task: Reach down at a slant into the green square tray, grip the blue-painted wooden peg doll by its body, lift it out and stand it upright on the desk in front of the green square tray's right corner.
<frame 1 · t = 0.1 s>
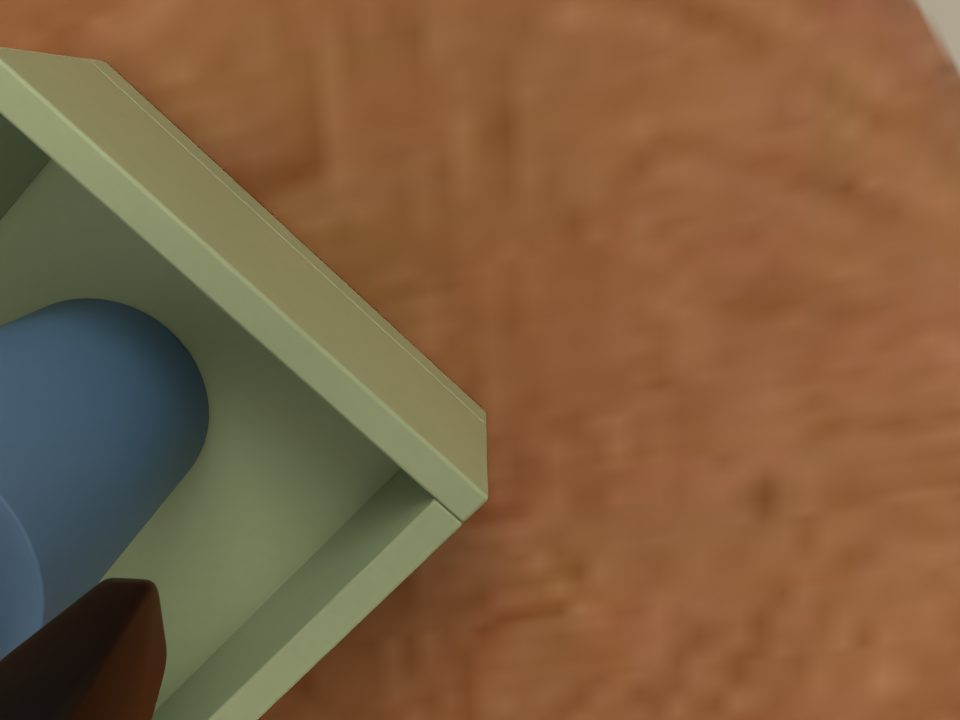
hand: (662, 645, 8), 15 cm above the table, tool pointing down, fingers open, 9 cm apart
green square tray: (134, 431, 24), on the table
peg doll: (100, 404, 23), point 1 cm above the table, touching green square tray
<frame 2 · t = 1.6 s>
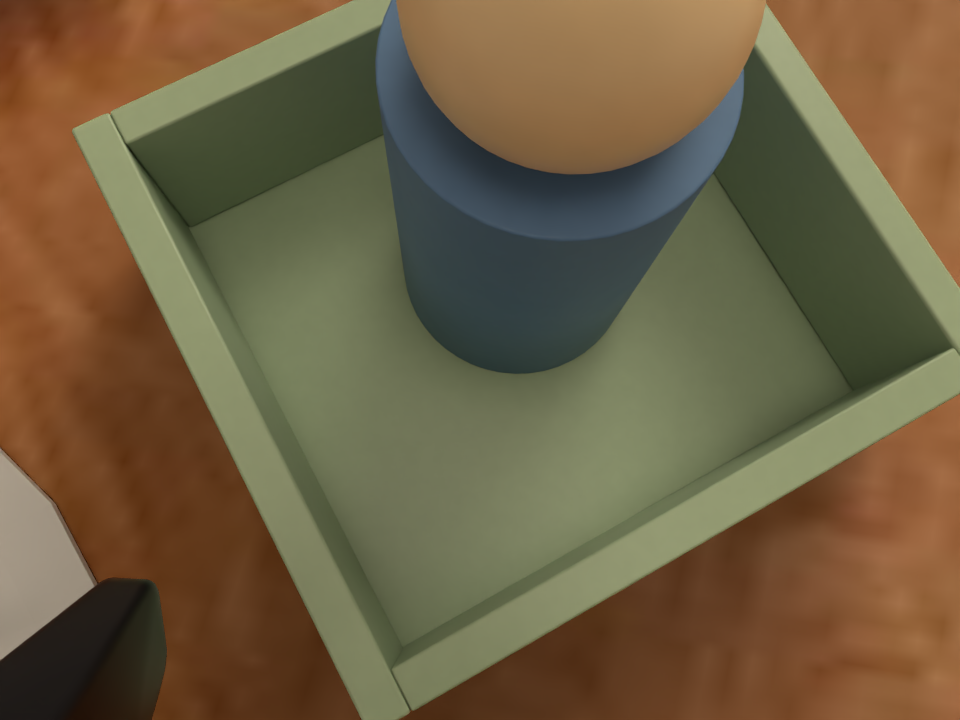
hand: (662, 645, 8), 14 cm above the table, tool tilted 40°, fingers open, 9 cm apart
green square tray: (515, 320, 23), on the table
peg doll: (516, 264, 22), point 1 cm above the table, touching green square tray
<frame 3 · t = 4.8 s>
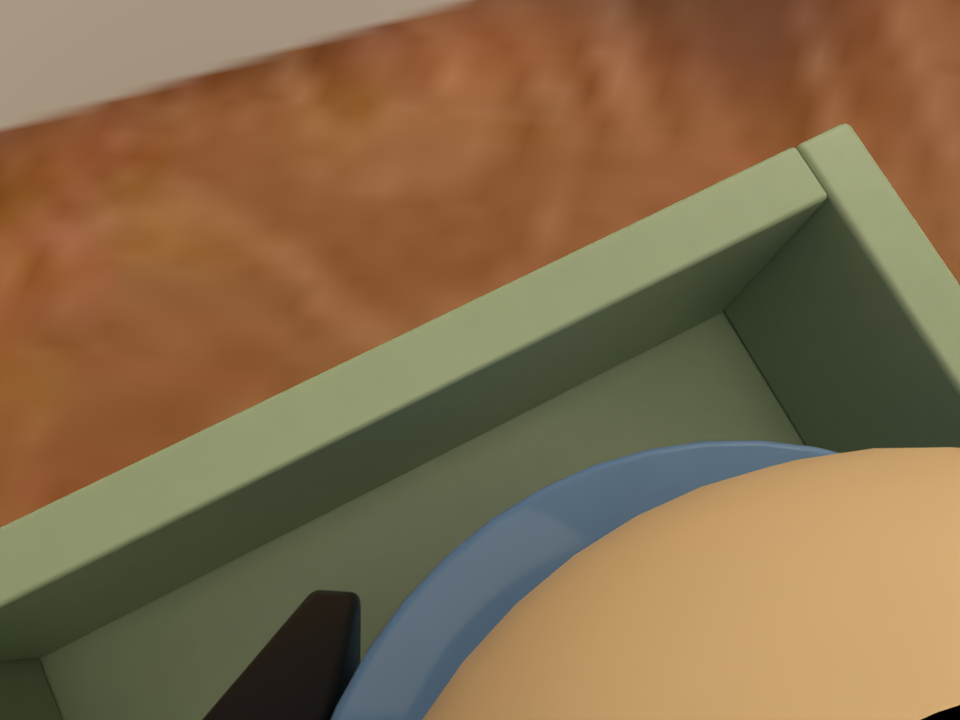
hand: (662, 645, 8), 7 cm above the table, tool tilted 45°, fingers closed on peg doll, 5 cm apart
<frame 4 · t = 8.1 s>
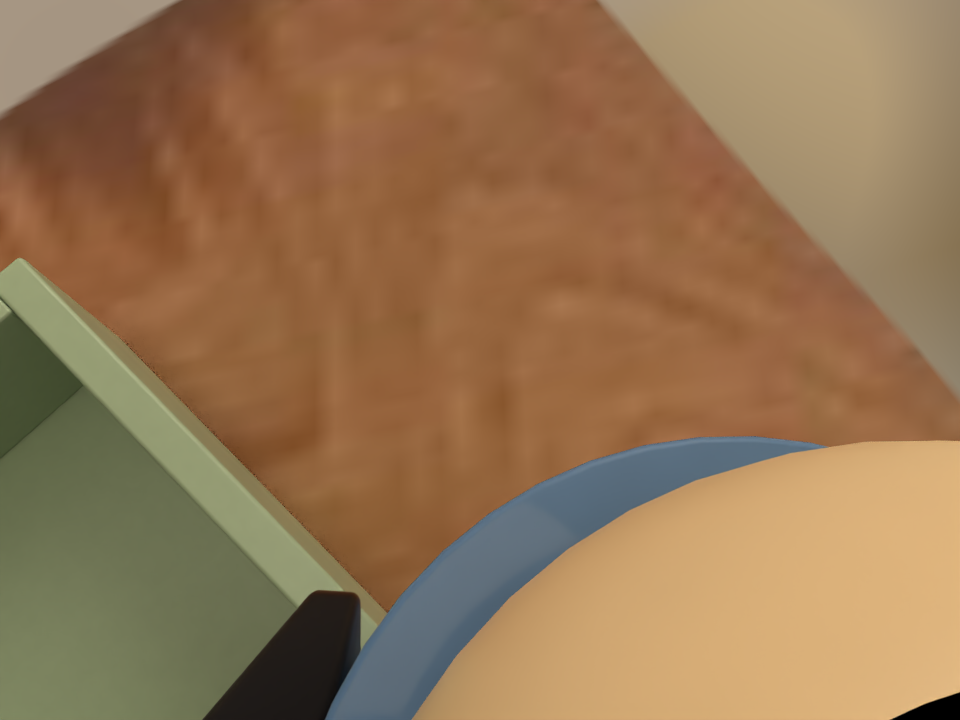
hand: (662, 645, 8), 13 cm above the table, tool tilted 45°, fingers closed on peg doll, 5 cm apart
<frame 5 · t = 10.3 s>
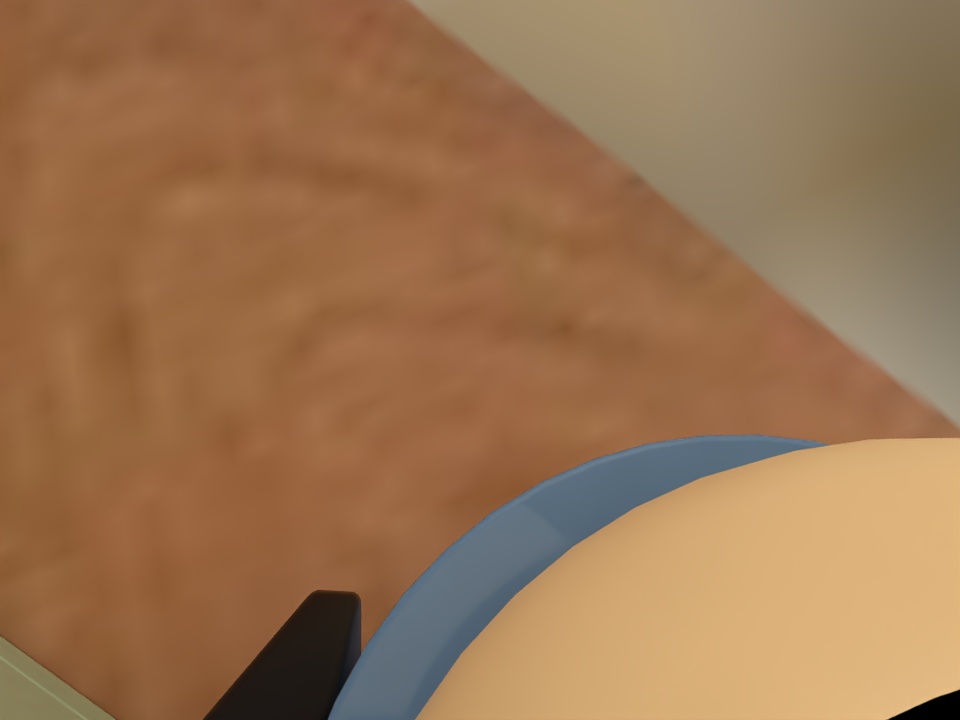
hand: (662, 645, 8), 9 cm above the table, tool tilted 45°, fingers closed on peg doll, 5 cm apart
when the fingers open (6 cm above the table, at t = 11.5 s): peg doll stays where it is, on the table.
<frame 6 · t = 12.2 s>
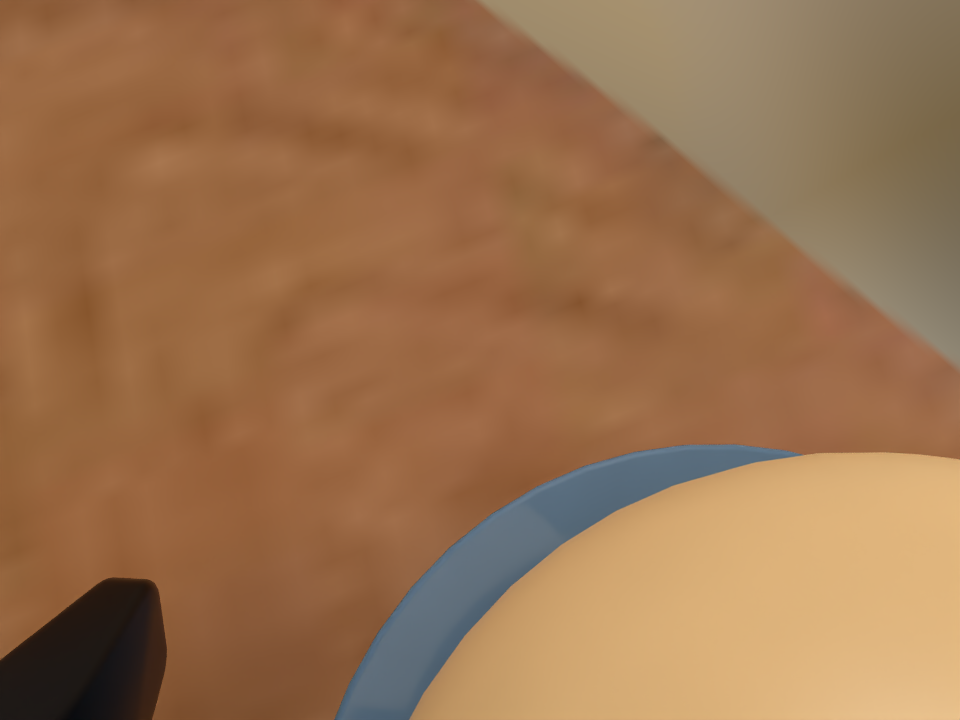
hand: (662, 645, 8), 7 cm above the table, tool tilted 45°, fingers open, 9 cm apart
peg doll: (563, 717, 14), on the table
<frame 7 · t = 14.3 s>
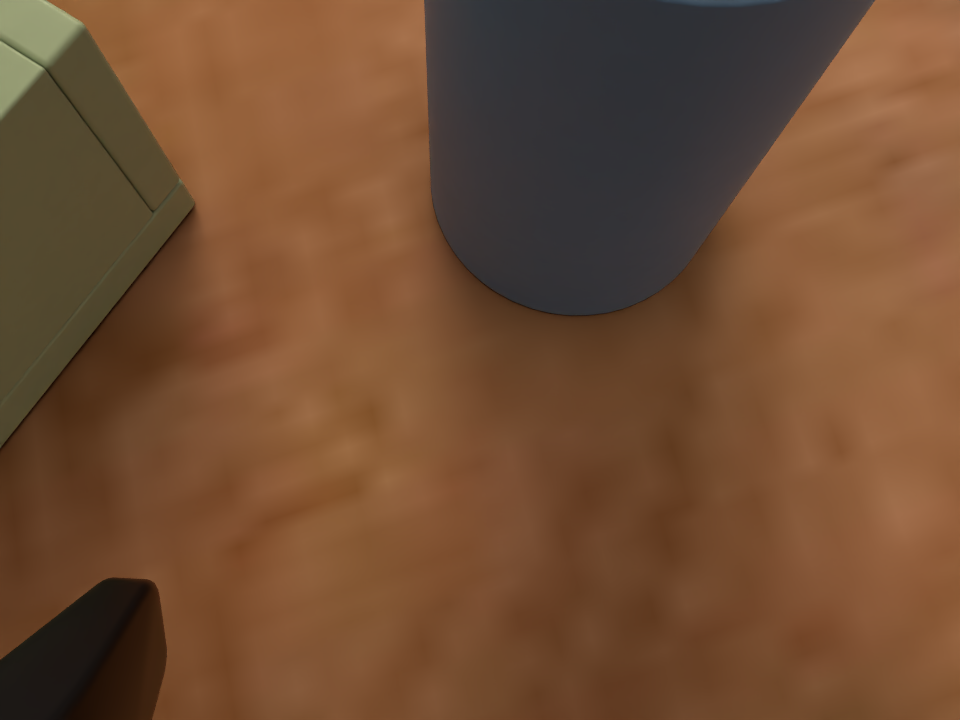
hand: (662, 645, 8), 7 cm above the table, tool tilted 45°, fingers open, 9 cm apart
peg doll: (572, 181, 17), on the table
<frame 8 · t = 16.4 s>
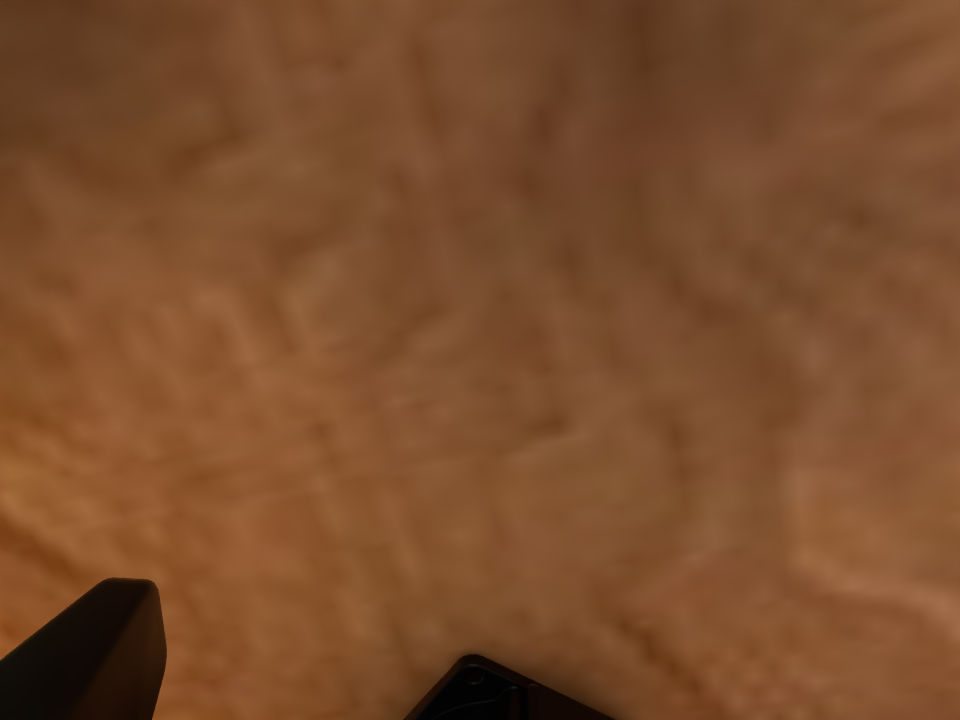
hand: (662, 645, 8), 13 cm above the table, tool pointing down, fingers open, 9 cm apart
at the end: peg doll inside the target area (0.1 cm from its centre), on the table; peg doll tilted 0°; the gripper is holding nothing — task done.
